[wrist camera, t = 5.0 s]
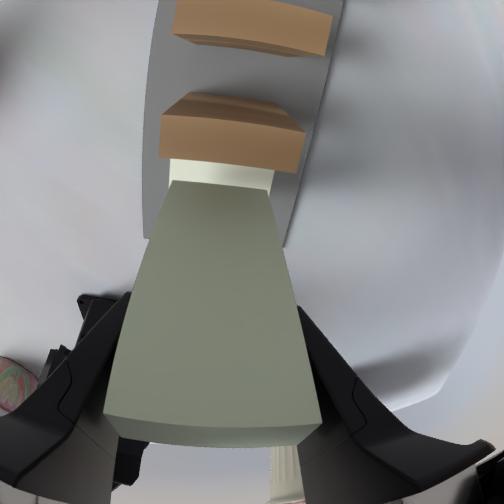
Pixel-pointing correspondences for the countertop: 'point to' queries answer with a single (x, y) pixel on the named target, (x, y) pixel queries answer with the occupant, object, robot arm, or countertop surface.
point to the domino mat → (235, 85)
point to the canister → (285, 476)
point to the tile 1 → (253, 26)
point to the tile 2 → (231, 132)
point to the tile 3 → (213, 330)
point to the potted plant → (14, 385)
